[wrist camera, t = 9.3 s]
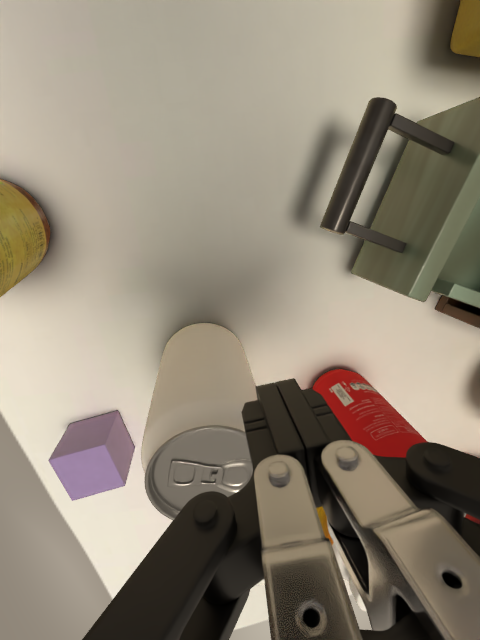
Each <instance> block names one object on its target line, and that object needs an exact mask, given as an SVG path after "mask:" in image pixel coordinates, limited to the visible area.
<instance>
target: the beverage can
mask: <svg viewBox="0 0 480 640" xmlns="http://www.w3.org/2000/svg"><path fill="white" fill-rule="evenodd" d="M312 389H313V390H314V391H316V392H318V393H319V394H321V395H322V396H323V398H324V399H325V401H326V402H327V404H328V405H329V407H330V408H331V410H332V411H333V413H334V414H335V416H336V417H337V418H338V420H339V421H340V423H341V424H342V426H343V427H344V429H345V430H346V432H347V433H348V435H349V436H350V438H351V439H352V441H354V442H357V443H359V444H361V445H363V446H365V447H366V448H367V449H368V450H369V451H370V452H371V453H372V454H373V455H377V456H384V457H406V453H407V450H408V449H409V448H410V447H411V446H412V445H415V444H417V443H423V442H427V441H426V440H425V439H424V438H423V437H422V436H421V435H420V434H419V433H418V432H417V431H416V430H415V429H414V428H413V427H412V426H411V425H410V424H409V423H408V422H407V421H406V420H405V419H404V418H403V417H402V416H401V415H400V414H399V413H398V412H397V411H396V410H395V409H394V408H393V407H392V406H391V405H390V404H389V403H388V402H387V401H386V400H385V399H384V398H383V397H382V396H381V395H380V394H379V393H378V392H377V391H376V390H375V389H374V388H373V387H372V386H371V385H370V384H369V383H368V382H367V381H366V380H365V379H364V378H363V377H362V376H361V375H359V374H358V373H355V372H352V371H348V370H345V369H333V370H330V371H327V372H325V373H324V374H322V375H321V376H320V377H319V378H318V379H317V380H316V381H315V383H314V385H313V387H312ZM465 516H466V513H464V517H465Z"/></svg>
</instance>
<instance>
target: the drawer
mask: <svg viewBox="0 0 480 640" xmlns="http://www.w3.org/2000/svg"><path fill="white" fill-rule="evenodd" d="M396 109H397V106H396V104H395V103H394V102H393V101H391V100H389V99H386V98H380V97H377V98H372V99H371V100H370V101H369V103H368V106H367V108H366V111H365V113H364V116H363V118H362V121H361V123H360V126H359V129H358V131H357V134H356V136H355V139H354V141H353V144H352V146H351V149H350V151H349V154H348V156H347V159H346V162H345V164H344V167H343V169H342V172H341V174H340V177H339V179H338V182H337V184H336V187H335V189H334V192H333V194H332V197H331V200H330V202H329V205H328V207H327V210H326V212H325V215H324V217H323V220H322V222H321V225H320V227H321V228H323V229H325V230H328V231H330V232H333V233H337V234H340V235H344V233H348V234H350V235H353V236H356V237H358V238H361V239H364V240H365V241H364V244H363V246H362V248H361V250H360V253H359V255H358V257H357V259H356V262H355V264H354V266H353V269H352V271H351V273H352V274H354V275H357V276H359V277H362V278H364V279H366V280H369V281H371V282H374V283H376V284H378V285H381V286H383V287H386V288H388V289H390V290H393V291H395V292H398V293H400V294H403V295H405V296H407V297H410V298H413V299H416V300H419V301H422V302H425V301H426V299H427V297H428V296H429V294H430V292H431V291H432V292H435V293H438V294H441V295H444V296H447V297H449V298H452V299H455V300H458V301H461V302H464V303H466V304H469V305H472V306H475V307H478V308H480V97H479V98H476V99H474V100H471V101H469V102H466V103H463V104H461V105H458V106H456V107H453V108H451V109H448V110H446V111H443V112H441V113H438V114H436V115H433V116H431V117H428V118H425V119H423V120H420V121H418V122H417V123H415V122H413V121H411V120H409V119H407V118H405V117H403V116H401V115H399V114H395V111H396ZM388 129H389V130H391V131H393V132H395V133H397V134H399V135H401V136H403V137H405V138H407V139H409V141H408V143H407V146H406V148H405V150H404V153H403V155H402V157H401V159H400V162H399V164H398V166H397V168H396V171H395V173H394V175H393V178H392V180H391V182H390V184H389V187H388V189H387V191H386V193H385V196H384V198H383V200H382V203H381V205H380V207H379V209H378V212H377V214H376V216H375V219H374V221H373V223H372V225H371V228H370V229H369V228H366V227H364V226H361V225H359V224H356V223H354V222H351V221H350V219H351V216H352V214H353V212H354V209H355V207H356V204H357V202H358V200H359V197H360V195H361V192H362V190H363V188H364V185H365V183H366V181H367V178H368V176H369V173H370V171H371V169H372V166H373V164H374V161H375V159H376V157H377V154H378V152H379V149H380V147H381V145H382V142H383V140H384V138H385V135H386V133H387V130H388Z"/></svg>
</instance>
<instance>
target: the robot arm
mask: <svg viewBox="0 0 480 640" xmlns="http://www.w3.org/2000/svg"><path fill="white" fill-rule="evenodd" d="M256 394H257V400H255V401H250V402H246V403H245V404H244V407H243V409H242V412H241V413H242V418H243V423H244V428H245V434H246V439H247V444H248V449H249V453H250V458H251V463H252V467H253V473H252V476H251V479H250V480H249V482H248V483H247V484H246V485H245V486H244V487H243V488H242V489H241V490H239V491H238V492H236V493H234V494H233V495H231V496H229V497H227V496H226V495H224V494H222V493H220V492H215V491H209V492H204V493H201V494H198V495H196V496H195V497H193V498H192V499H191V500H189V501H188V502H187V503H186V505H185V506H184V507H183V508H182V510H181V511H180V512H179V514H178V515H177V516H176V518H175V519H174V520H173V522H172V523H171V524H170V525H169V527H168V528H167V529H166V531H165V532H164V533H163V535H162V536H161V537H160V539H159V540H158V541H157V542H156V544H155V545H154V546H153V548H152V549H151V550H150V552H149V553H148V554H147V556H146V557H145V558H144V559H143V561H142V562H141V563H140V565H139V566H138V567H137V569H136V570H135V571H134V573H133V574H132V575H131V577H130V578H129V579H128V580H127V582H126V583H125V584H124V586H123V587H122V588H121V590H120V591H119V592H118V594H117V595H116V596H115V597H114V599H113V600H112V601H111V603H110V604H109V605H108V607H107V608H106V609H105V611H104V612H103V613H102V614H101V616H100V617H99V618H98V620H97V621H96V622H95V624H94V625H93V626H92V628H91V629H90V630H89V632H88V633H87V634H86V635H85V637H84V638H83V639H82V640H229V638H230V636H231V634H232V632H233V629H234V627H235V625H236V623H237V621H238V618H239V616H240V614H241V612H242V610H243V607H244V605H245V603H246V601H247V598H248V596H249V592H250V589H251V588H252V587H253V586H255V585H256V584H258V583H259V582H260V581H262V580H263V579H264V580H265V589H266V598H267V606H268V615H269V624H270V633H271V640H480V524H478V523H476V522H474V521H471V520H469V519H467V518H465V517H464V513H466V514H468V515H470V516H472V517H475V518H477V519H479V520H480V458H477V457H475V456H472V455H469V454H466V453H464V452H461V451H458V450H455V449H452V448H450V447H447V446H444V445H441V444H437V443H431V442H423V443H417V444H415V445H412V446H411V447H410V448H409V449H408V450H407V453H406V457H384V456H377V455H373V454H372V453H371V452H370V451H369V450H368V449H367V448H366V447H365V446H363V445H361V444H359V443H357V442H354V441H352V439H351V438H350V436H349V435H348V433H347V432H346V430H345V429H344V427H343V426H342V424H341V423H340V421H339V420H338V418H337V417H336V416H335V414H334V413H333V411H332V410H331V408H330V407H329V405H328V404H327V402H326V401H325V399H324V398H323V396H322V395H321V394H319V393H318V392H316V391H314V390H313V389H311V388H310V389H306V390H301V389H300V387H299V385H298V383H297V382H296V380H295V379H294V378H293V379H288V380H284V381H279V382H275V383H270V384H265V385H261V386H256ZM318 507H323V509H324V511H325V514H326V516H327V525H328V531H329V534H330V536H331V538H332V540H333V542H334V544H335V546H336V548H337V550H338V552H339V554H340V556H341V558H342V560H343V562H344V564H345V566H346V568H347V570H348V572H349V574H350V576H351V578H352V580H353V582H354V584H355V586H356V588H357V590H358V592H359V594H360V596H361V598H362V601H363V603H364V605H365V608H366V610H367V613H368V616H369V620H370V624H371V627H372V630H360V629H359V626H358V623H357V620H356V617H355V614H354V611H353V608H352V605H351V602H350V599H349V595H348V592H347V589H346V586H345V583H344V580H343V577H342V574H341V571H340V568H339V565H338V562H337V559H336V556H335V553H334V550H333V547H332V544H331V542H330V540H329V538H326V537H325V535H324V532H323V529H322V525H321V522H320V519H319V516H318V513H317V509H316V508H318Z"/></svg>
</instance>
